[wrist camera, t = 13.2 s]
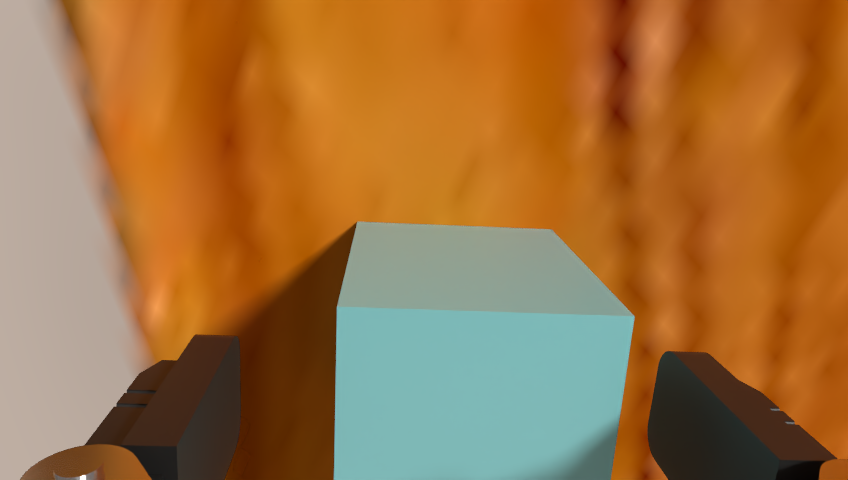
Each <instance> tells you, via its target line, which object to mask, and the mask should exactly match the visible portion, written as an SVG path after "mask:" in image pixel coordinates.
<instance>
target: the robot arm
mask: <svg viewBox="0 0 848 480" xmlns="http://www.w3.org/2000/svg"><path fill="white" fill-rule="evenodd" d="M240 420H241V390H240V344H239V339H238V337H237V336H221V335H195V336H194V337H193V338H192V340H191V341H190V343H189V344H188V345H187V347H186V348H185V350H184V351H183V353H182V354H181V356H180V357H179V359H178V360H177V361H173V360H162V361H160V362H158V363H157V364H155V365H153V366H152V367H150V368H148V369H146V370H145V371H143V372H141V373H140V374H139V375H138V376H137V378H136V379H135V380H134V381H133V383H132V384H131V385H130V387H129V388H128V389H127V393H124V394H123V396H122V397H121V398H120V400H119V401H118V402H117V406H116V407H113V409H112V410H111V411H110V413H109V414H108V415H107V417H106V418H105V419H104V420H103V422H102V423H101V424H100V426H99V427H98V428H97V430H96V431H95V432H94V433H93V435H92V436H91V437H90V439H89V440H88V442H87V443H86V444H85V445H84V446H79V447H74V448H71V449H67V450H64V451H61V452H58V453H55V454H53V455H51V456H49V457H47V458H45V459H43V460H41V461H39V462H38V463H37V464H35V465H34V466H32V467H31V468H30V469H29V470H28V471H27V472H25V474H24V475H23V476H22V477H21V479H20V480H224V479H225V476H226V474H227V471H228V468H229V466H230V463H231V460H232V458H233V455H234V452H235V449H236V446H237V442H238V437H239V431H240ZM648 442H649V447H650V450H651V453H652V455H653V457H654V459H655V461H656V462H657V464H658V465H659V466H660V468H661V469H662V471H663V472H664V474H665V475H666V477H667V478H668V480H848V459H837V458H836V457H835V456H834V455H832V454H831V453H830V452H829V451H828V450H827V449H825V448H824V447H823V446H822V445H821V444H820V443H819V442H817V441H816V440H815V439H814V438H813V437H812V436H811V435H809V434H808V433H807V432H806V431H805V430H804V429H803V428H801V427H800V426H799V425H795V424H794V421H793V420H792V419H791V418H790V417H789V416H788V415H787V414H785V413H784V412H783V411H779V407H777V406H776V405H775V404H774V403H773V402H772V401H771V400H769V399H768V398H767V397H766V396H765V395H764V394H763V393H761V392H760V391H758V390H756V389H754V388H752V387H750V386H748V385H747V384H745V383H743V382H741V381H739V380H738V379H736V378H735V377H734V376H733V375H732V374H731V373H730V372H729V371H727V370H726V369H725V368H724V367H723V366H722V365H721V364H720V363H719V362H717V361H716V360H715V359H714V358H713V357H712V356H711V355H709V354H708V353H704V352H674V351H667V352H665V353H664V354H663V355H662V357H661V359H660V362H659V366H658V371H657V377H656V383H655V388H654V394H653V399H652V405H651V410H650V416H649V421H648Z"/></svg>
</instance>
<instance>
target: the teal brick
mask: <svg viewBox="0 0 848 480" xmlns="http://www.w3.org/2000/svg"><path fill="white" fill-rule="evenodd" d="M634 317H635V316H634V315H633V314H632V313H631V312H630V311H629V310H628V309H627V308H626V307H625V306H624V305H623V304H622V303H621V302H620V301H619V300H618V299H617V297H616V296H615V295H614V294H613V293H612V292H611V291H610V290H609V289H608V288H607V287H606V286H605V285H604V284H603V283H602V282H601V281H600V280H599V279H598V278H597V277H596V276H595V274H594V273H593V272H592V271H591V270H590V269H589V268H588V267H587V266H586V265H585V264H584V263H583V262H582V261H581V260H580V259H579V258H578V257H577V256H576V255H575V254H574V253H573V251H572V250H571V249H570V248H569V247H568V246H567V245H566V244H565V243H564V242H563V241H562V240H561V239H560V238H559V237H558V236H557V235H556V234H555V233H554V232H553V231H552V230H551V229H527V228H502V227H477V226H452V225H427V224H402V223H377V222H357V225H356V230H355V234H354V238H353V242H352V246H351V250H350V254H349V259H348V263H347V267H346V271H345V275H344V279H343V284H342V288H341V292H340V296H339V300H338V304H337V331H336V387H335V444H334V480H611V473H612V466H613V459H614V453H615V446H616V439H617V432H618V426H619V419H620V412H621V405H622V398H623V392H624V385H625V378H626V371H627V364H628V358H629V351H630V344H631V337H632V331H633V324H634Z"/></svg>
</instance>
